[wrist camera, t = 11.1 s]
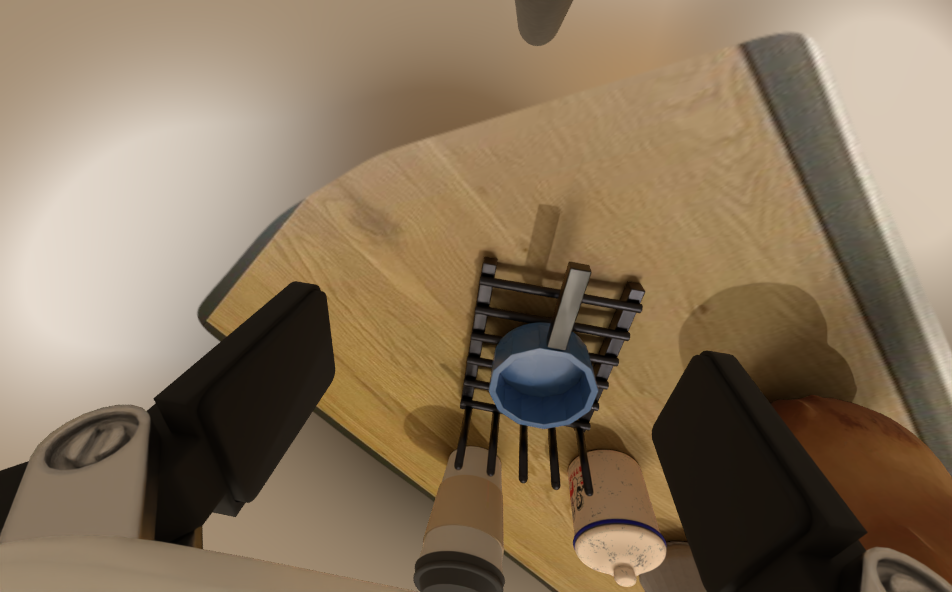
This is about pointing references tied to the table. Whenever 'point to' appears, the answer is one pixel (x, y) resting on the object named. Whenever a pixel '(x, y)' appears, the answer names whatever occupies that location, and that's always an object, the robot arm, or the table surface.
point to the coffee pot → (674, 572)
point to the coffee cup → (464, 530)
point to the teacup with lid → (615, 518)
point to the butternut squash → (879, 476)
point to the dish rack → (603, 360)
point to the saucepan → (546, 364)
